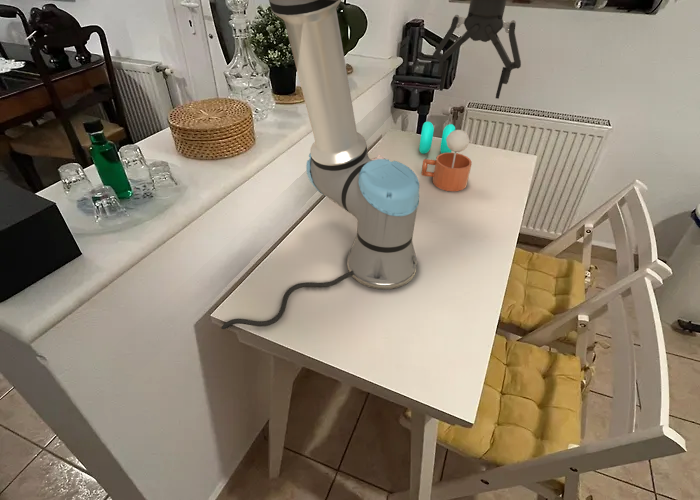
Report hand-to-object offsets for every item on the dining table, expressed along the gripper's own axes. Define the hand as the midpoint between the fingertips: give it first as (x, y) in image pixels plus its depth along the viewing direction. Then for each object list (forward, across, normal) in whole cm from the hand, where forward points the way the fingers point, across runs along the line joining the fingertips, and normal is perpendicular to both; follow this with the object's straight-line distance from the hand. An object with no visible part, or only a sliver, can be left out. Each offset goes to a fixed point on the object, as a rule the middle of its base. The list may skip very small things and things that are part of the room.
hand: (469, 92), depth 106 cm
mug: (+27, +2, -2) cm, 27 cm away
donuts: (+27, +7, -19) cm, 33 cm away
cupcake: (+27, +19, +8) cm, 34 cm away
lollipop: (+26, 0, -2) cm, 26 cm away
